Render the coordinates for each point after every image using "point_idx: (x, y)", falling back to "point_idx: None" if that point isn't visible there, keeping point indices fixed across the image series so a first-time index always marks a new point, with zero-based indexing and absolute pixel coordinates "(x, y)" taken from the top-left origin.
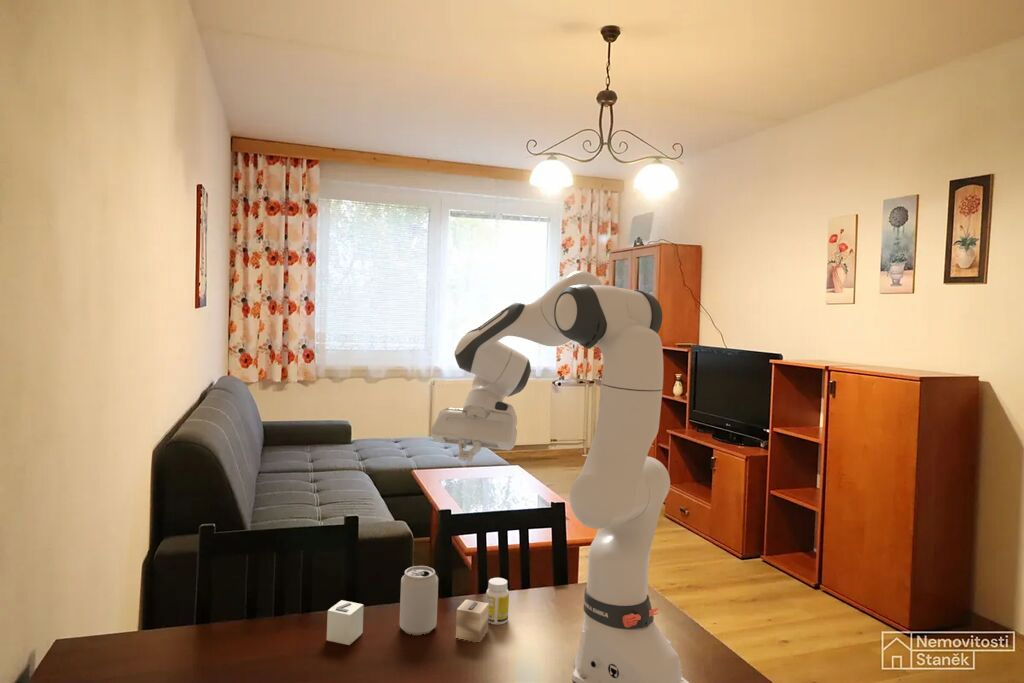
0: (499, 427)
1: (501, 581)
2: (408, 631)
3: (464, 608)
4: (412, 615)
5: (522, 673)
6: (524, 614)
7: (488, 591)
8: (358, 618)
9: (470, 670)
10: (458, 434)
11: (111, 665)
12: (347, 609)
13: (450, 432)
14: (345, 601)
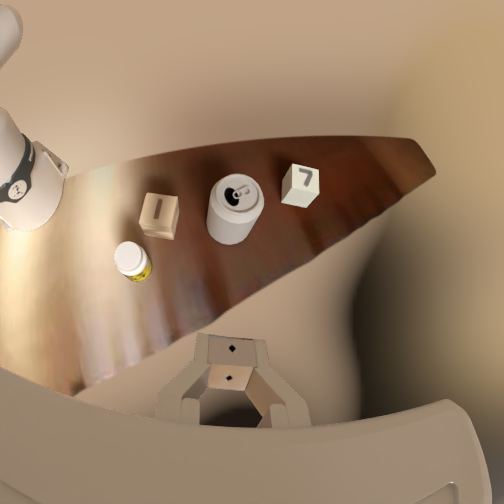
0: (3, 478)
1: (122, 255)
2: (233, 203)
3: (168, 201)
4: (231, 193)
5: (107, 167)
6: (107, 293)
7: (142, 250)
8: (288, 184)
9: (154, 160)
10: (332, 436)
11: (399, 145)
12: (300, 171)
13: (387, 435)
14: (313, 191)
